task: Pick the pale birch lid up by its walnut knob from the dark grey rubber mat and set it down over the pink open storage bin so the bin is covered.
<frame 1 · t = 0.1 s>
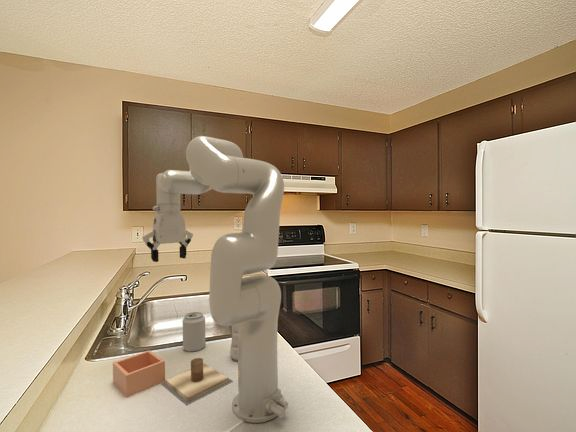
hand: (169, 259, 104), 31 cm above the worktop, tool pointing down, fingers open, 9 cm apart
lid: (197, 382, 83), resting on mat
pink open storage bin: (139, 383, 84), on the worktop
mat: (197, 384, 83), on the worktop
can: (194, 349, 105), on the worktop
plastic bottle: (240, 359, 97), on the worktop
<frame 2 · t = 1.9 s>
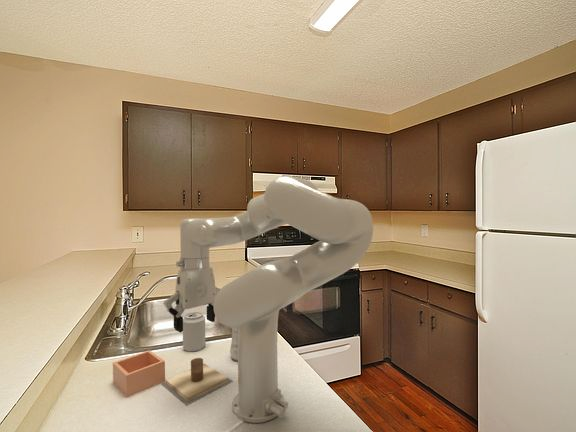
hand: (195, 325, 83), 16 cm above the worktop, tool pointing down, fingers open, 9 cm apart
nothing on the worktop moved.
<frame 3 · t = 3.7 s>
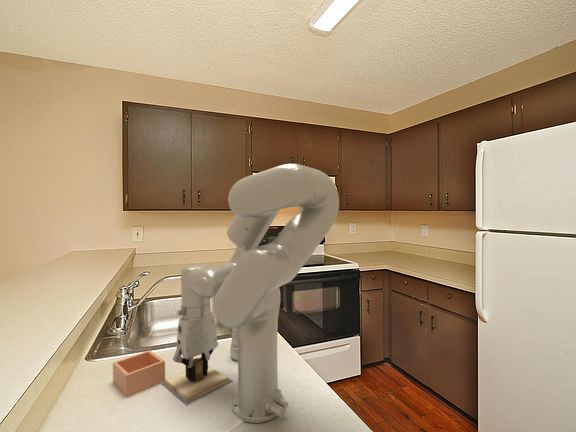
hand: (197, 376, 83), 2 cm above the worktop, tool pointing down, fingers closed on lid, 3 cm apart
lid: (197, 382, 83), resting on mat, touching gripper
everything else where it was.
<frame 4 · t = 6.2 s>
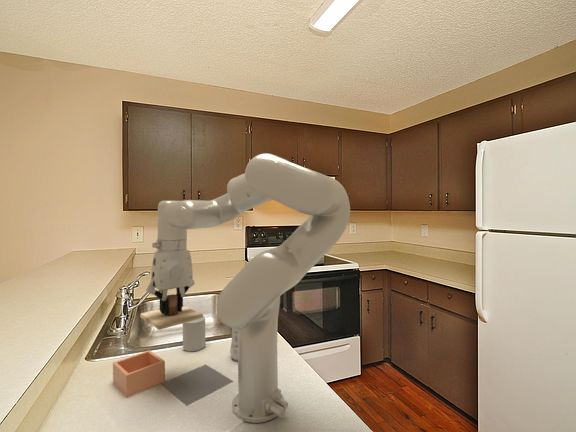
hand: (171, 311, 83), 20 cm above the worktop, tool pointing down, fingers closed on lid, 3 cm apart
lid: (171, 317, 83), point 18 cm above the worktop, touching gripper
everything else where it was.
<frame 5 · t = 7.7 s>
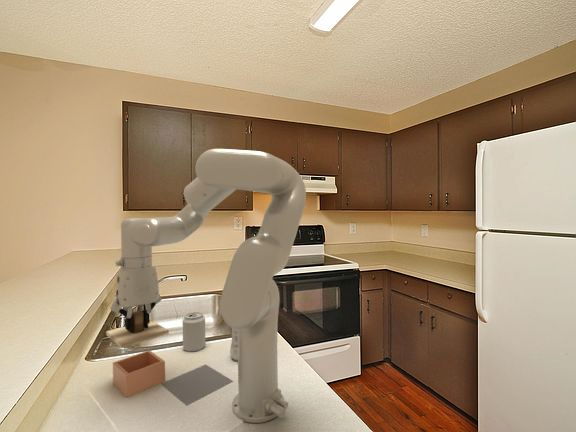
hand: (137, 328, 84), 15 cm above the worktop, tool pointing down, fingers closed on lid, 3 cm apart
lid: (137, 334, 84), point 14 cm above the worktop, touching gripper
everything else where it was.
when the fingers open (9 cm above the worktop, at t = 9.0 s): lid stays where it is, resting on pink open storage bin.
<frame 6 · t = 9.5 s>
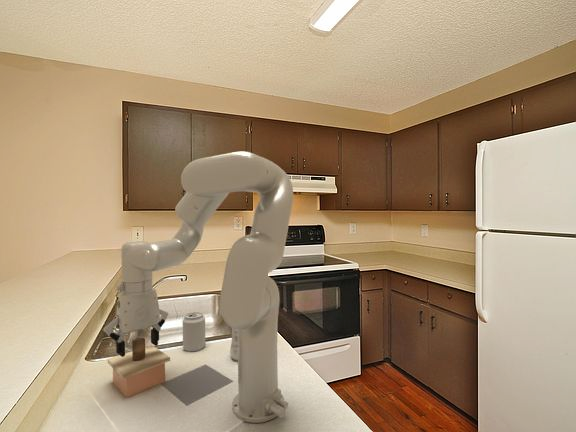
hand: (138, 349, 84), 10 cm above the worktop, tool pointing down, fingers open, 8 cm apart
lid: (139, 361, 84), point 6 cm above the worktop, touching pink open storage bin
everything else where it was.
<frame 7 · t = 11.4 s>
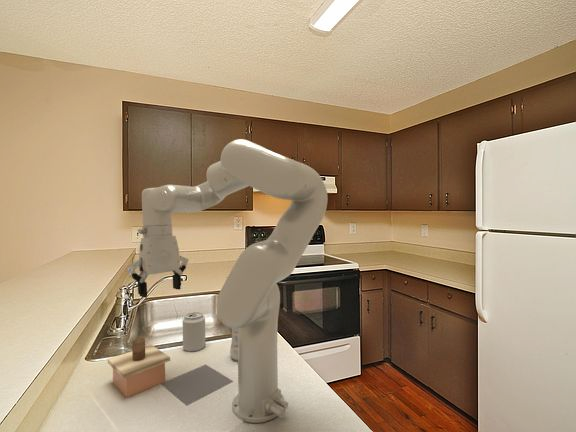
hand: (160, 292, 85), 25 cm above the worktop, tool pointing down, fingers open, 9 cm apart
nothing on the worktop moved.
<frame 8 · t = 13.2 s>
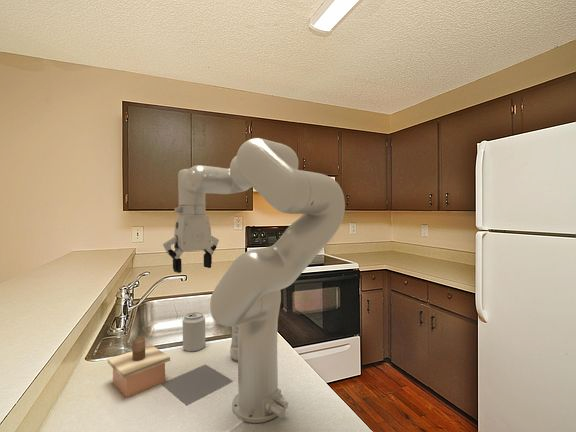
hand: (193, 269, 89), 30 cm above the worktop, tool pointing down, fingers open, 9 cm apart
nothing on the worktop moved.
at the end: lid 0.0 cm from the pink open storage bin (horizontally); lid point 6.0 cm above the worktop; lid tilted 0° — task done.
